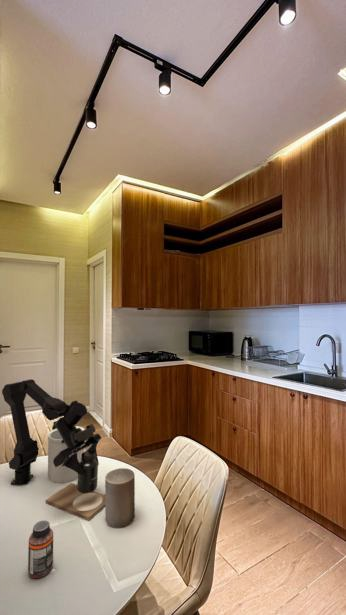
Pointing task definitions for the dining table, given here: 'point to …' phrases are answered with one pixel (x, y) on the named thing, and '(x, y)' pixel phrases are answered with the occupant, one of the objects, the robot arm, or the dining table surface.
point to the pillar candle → (119, 497)
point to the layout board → (77, 502)
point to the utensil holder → (54, 447)
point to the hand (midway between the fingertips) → (90, 470)
